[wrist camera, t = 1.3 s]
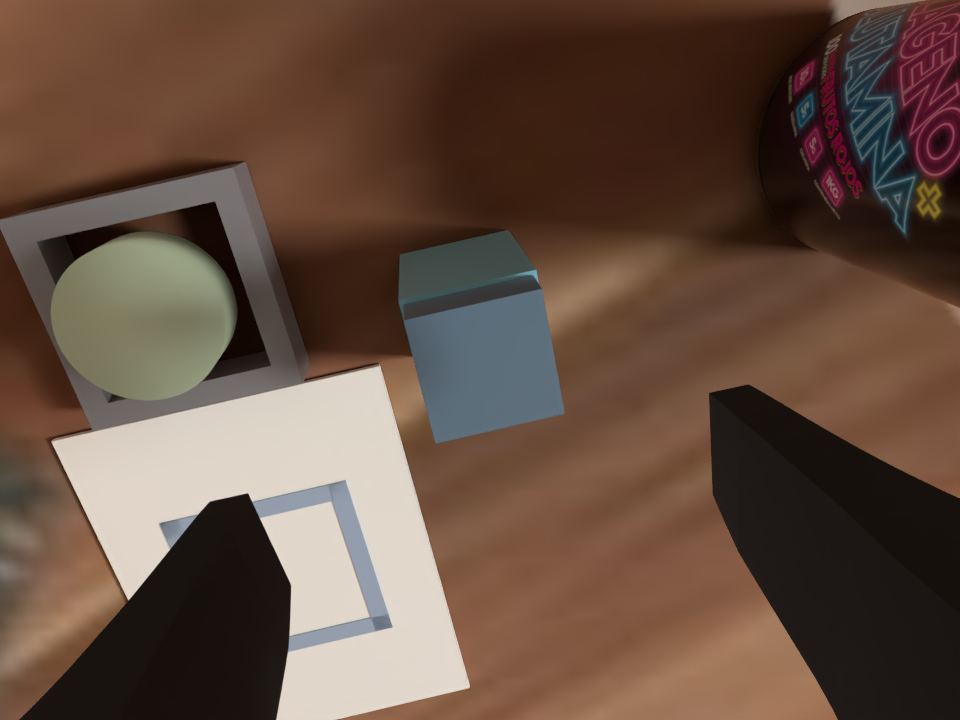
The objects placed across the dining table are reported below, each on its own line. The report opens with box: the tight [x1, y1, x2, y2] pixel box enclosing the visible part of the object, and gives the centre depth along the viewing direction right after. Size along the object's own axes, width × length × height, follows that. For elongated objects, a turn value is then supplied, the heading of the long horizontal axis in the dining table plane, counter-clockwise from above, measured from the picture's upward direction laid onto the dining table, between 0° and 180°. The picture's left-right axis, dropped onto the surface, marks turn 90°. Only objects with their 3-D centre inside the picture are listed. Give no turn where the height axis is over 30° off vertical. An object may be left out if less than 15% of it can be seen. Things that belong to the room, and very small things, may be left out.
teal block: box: [398, 230, 565, 443], centre depth 19 cm, size 3×3×6 cm
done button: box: [51, 231, 237, 401], centre depth 18 cm, size 4×4×2 cm
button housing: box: [0, 161, 310, 431], centre depth 20 cm, size 6×6×2 cm
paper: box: [51, 364, 470, 720], centre depth 24 cm, size 13×10×1 cm
